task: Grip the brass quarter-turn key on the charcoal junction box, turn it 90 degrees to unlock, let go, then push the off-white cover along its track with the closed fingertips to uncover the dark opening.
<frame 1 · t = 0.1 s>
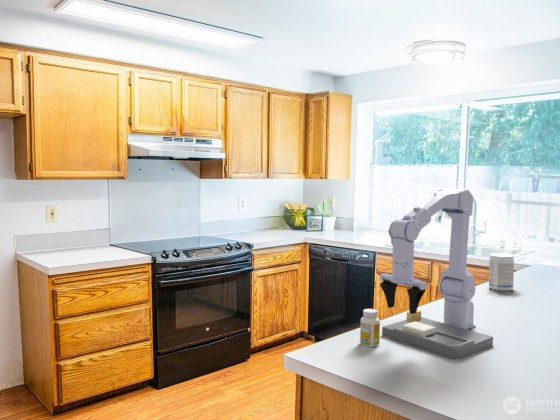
hand: (401, 310, 136), 10 cm above the countertop, tool pointing down, fingers open, 7 cm apart
cover: (419, 328, 140), point 4 cm above the countertop, slide at 0.0 cm
junction box: (435, 339, 141), on the countertop
supplement tub: (500, 289, 206), on the countertop
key: (413, 317, 148), point 5 cm above the countertop, hinge at 0.0°
supplement bottle: (369, 344, 137), on the countertop
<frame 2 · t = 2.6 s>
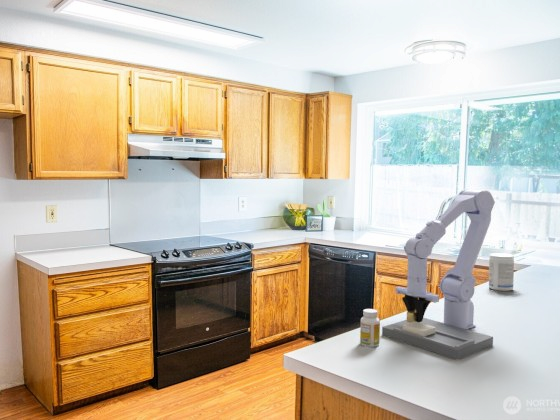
hand: (415, 320, 148), 3 cm above the countertop, tool pointing down, fingers closed on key, 2 cm apart
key: (413, 317, 148), point 5 cm above the countertop, hinge at 0.0°, touching gripper
everything else where it was.
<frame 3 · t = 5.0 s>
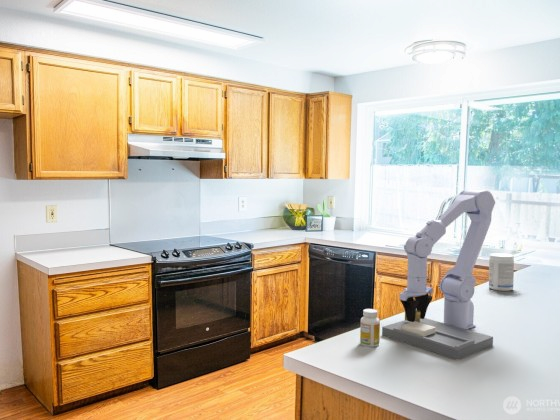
hand: (415, 319, 148), 4 cm above the countertop, tool pointing down, fingers open, 5 cm apart
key: (412, 316, 149), point 5 cm above the countertop, hinge at -58.0°
everything else where it was.
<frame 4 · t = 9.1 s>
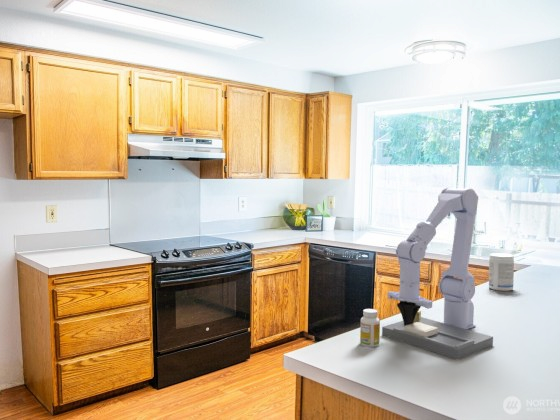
hand: (408, 327, 143), 3 cm above the countertop, tool pointing down, fingers closed
cover: (421, 329, 139), point 4 cm above the countertop, slide at 0.8 cm, touching gripper
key: (412, 316, 149), point 5 cm above the countertop, hinge at -68.8°
everything else where it was.
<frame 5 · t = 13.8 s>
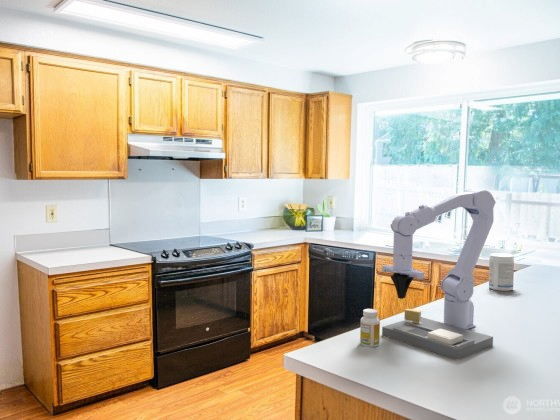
hand: (401, 298, 150), 10 cm above the countertop, tool pointing down, fingers closed
cover: (445, 336, 133), point 4 cm above the countertop, slide at 8.5 cm
everything else where it was.
at the end: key at -69° (first picture: +0°); cover slide at 8.5 cm; the gripper is holding nothing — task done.
